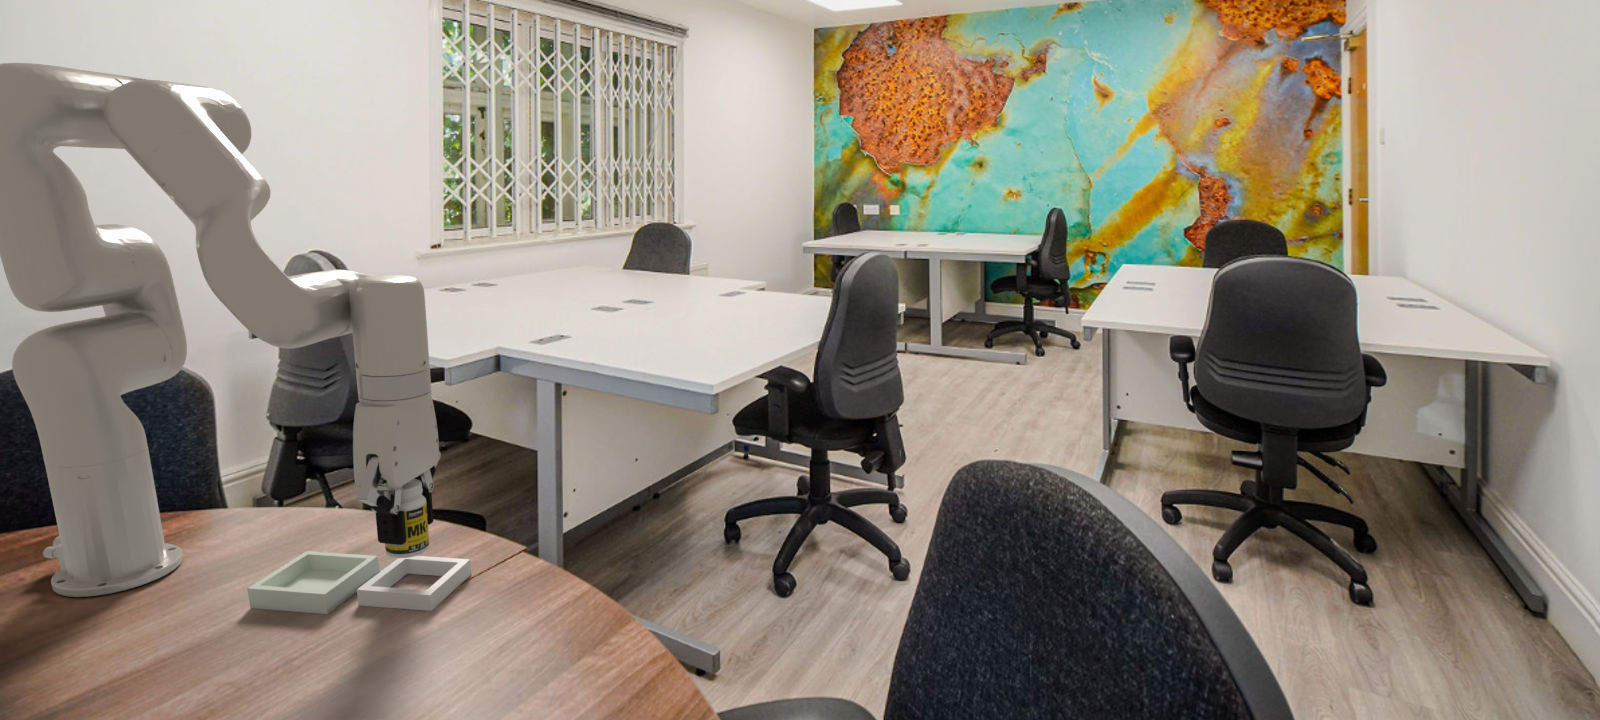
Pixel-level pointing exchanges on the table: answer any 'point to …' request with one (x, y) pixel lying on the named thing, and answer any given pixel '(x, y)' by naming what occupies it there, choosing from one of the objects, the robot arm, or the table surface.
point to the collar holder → (384, 596)
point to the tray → (313, 582)
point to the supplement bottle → (411, 522)
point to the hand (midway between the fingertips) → (406, 531)
